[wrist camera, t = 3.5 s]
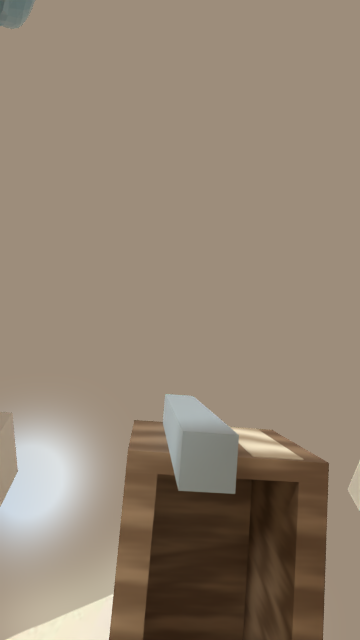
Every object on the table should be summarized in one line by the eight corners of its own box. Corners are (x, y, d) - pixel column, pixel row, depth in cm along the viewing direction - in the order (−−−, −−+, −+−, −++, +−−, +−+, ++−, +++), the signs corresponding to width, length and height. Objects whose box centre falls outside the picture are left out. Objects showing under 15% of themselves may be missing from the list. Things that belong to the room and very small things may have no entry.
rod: (235, 493, 24) (238, 435, 25) (178, 490, 24) (183, 431, 24) (190, 424, 49) (193, 396, 49) (162, 422, 49) (165, 393, 49)
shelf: (317, 809, 31) (328, 462, 35) (91, 814, 29) (128, 449, 33) (259, 656, 47) (271, 429, 50) (111, 654, 45) (134, 419, 49)
